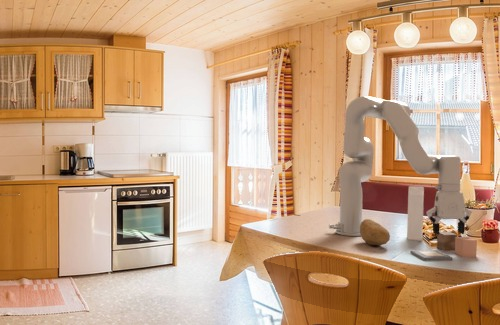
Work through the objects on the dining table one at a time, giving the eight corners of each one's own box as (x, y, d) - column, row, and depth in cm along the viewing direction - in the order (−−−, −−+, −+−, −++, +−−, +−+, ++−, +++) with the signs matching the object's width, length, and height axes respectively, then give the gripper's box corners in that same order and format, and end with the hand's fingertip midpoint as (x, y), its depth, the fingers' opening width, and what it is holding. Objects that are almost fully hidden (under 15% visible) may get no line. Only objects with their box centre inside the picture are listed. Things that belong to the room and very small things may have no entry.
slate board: (423, 260, 148) (424, 257, 148) (410, 253, 158) (410, 250, 158) (452, 260, 149) (452, 257, 149) (437, 252, 159) (437, 249, 159)
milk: (407, 236, 187) (408, 185, 186) (422, 238, 185) (423, 186, 184) (406, 239, 182) (408, 186, 181) (422, 240, 179) (424, 187, 179)
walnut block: (443, 250, 163) (444, 234, 163) (437, 247, 168) (437, 232, 168) (456, 250, 164) (457, 234, 163) (449, 247, 169) (449, 232, 168)
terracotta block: (462, 256, 154) (463, 240, 154) (454, 253, 159) (455, 237, 159) (476, 256, 155) (476, 240, 154) (468, 253, 160) (468, 236, 159)
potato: (371, 250, 162) (372, 225, 162) (354, 240, 177) (355, 218, 177) (393, 249, 164) (394, 224, 163) (374, 240, 179) (375, 217, 179)
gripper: (432, 189, 160) (431, 235, 161) (477, 188, 162) (476, 235, 162) (422, 187, 168) (421, 232, 168) (465, 187, 169) (464, 231, 170)
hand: (448, 233), depth 165 cm, fingers open, 9 cm apart
